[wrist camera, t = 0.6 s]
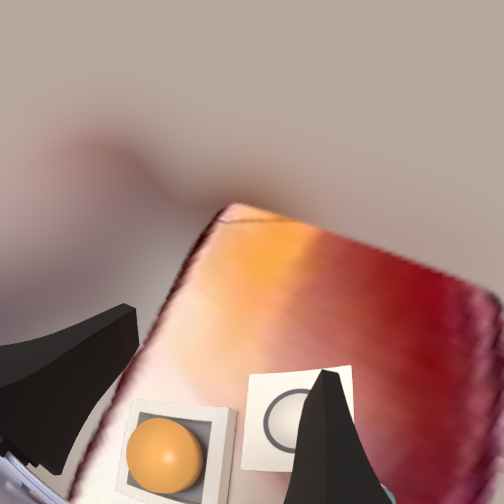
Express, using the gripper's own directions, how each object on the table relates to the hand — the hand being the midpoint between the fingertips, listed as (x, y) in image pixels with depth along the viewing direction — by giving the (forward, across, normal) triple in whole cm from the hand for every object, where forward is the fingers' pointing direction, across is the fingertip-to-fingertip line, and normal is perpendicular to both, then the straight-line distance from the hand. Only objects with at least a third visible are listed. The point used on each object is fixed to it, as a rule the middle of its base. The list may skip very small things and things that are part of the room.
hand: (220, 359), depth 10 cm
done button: (+2, +4, +20) cm, 20 cm away
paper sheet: (+8, -6, +14) cm, 17 cm away
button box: (+3, +3, +21) cm, 22 cm away
